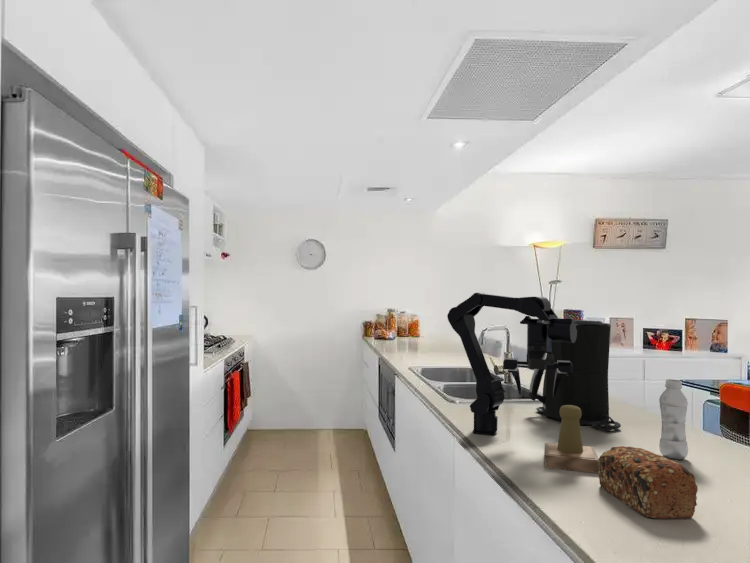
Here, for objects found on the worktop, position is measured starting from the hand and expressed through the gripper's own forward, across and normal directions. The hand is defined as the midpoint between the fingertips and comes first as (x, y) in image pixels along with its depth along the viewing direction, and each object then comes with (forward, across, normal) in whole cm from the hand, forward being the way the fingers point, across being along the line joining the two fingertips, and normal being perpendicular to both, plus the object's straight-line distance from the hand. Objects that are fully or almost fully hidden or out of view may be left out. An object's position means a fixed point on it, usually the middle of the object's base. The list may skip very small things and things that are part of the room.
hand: (536, 395), depth 154 cm
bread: (+13, +21, -40) cm, 47 cm away
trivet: (+13, +8, -18) cm, 24 cm away
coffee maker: (+13, +11, +34) cm, 38 cm away
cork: (+10, +8, -18) cm, 22 cm away
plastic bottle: (+13, +34, -4) cm, 37 cm away
